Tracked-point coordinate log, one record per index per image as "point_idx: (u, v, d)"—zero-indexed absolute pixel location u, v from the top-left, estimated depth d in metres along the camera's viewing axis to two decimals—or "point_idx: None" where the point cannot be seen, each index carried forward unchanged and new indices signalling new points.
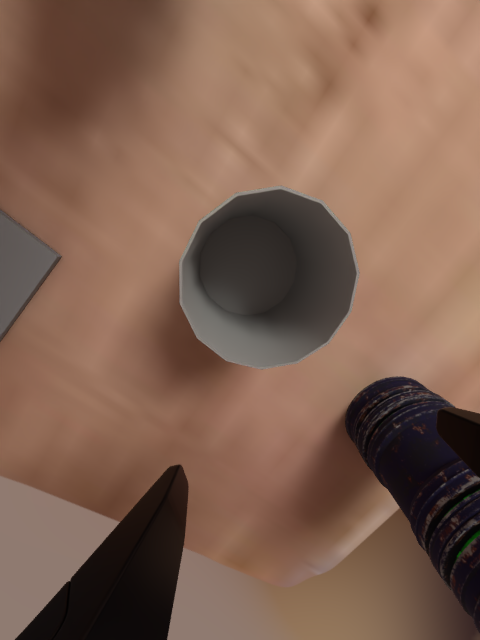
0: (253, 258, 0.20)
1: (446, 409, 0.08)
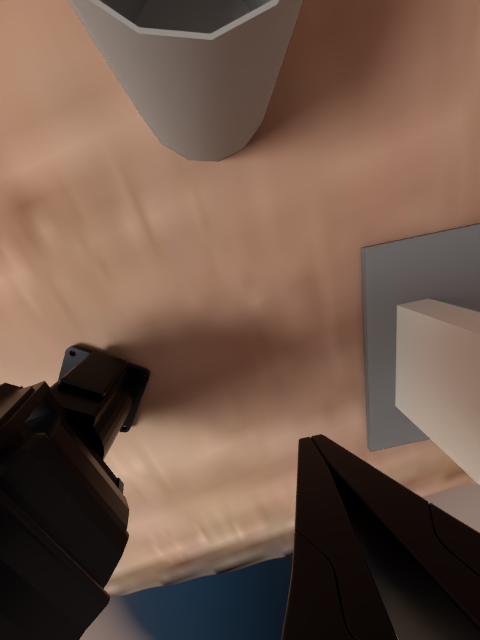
0: None
1: (315, 437, 0.08)
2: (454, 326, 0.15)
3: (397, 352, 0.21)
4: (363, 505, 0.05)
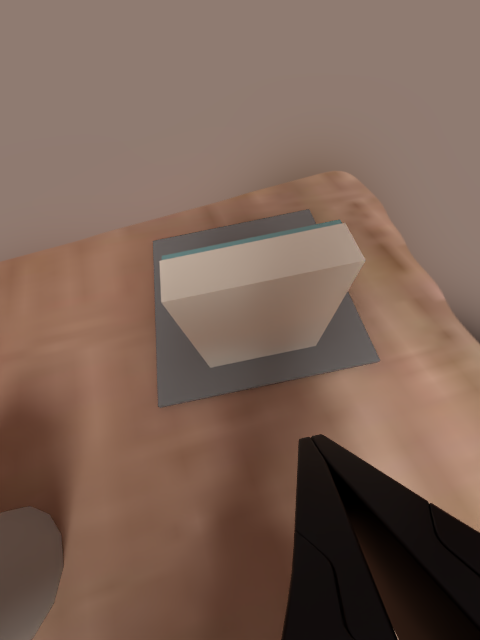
0: None
1: (315, 437, 0.08)
2: (197, 349, 0.18)
3: (255, 357, 0.22)
4: (363, 505, 0.05)
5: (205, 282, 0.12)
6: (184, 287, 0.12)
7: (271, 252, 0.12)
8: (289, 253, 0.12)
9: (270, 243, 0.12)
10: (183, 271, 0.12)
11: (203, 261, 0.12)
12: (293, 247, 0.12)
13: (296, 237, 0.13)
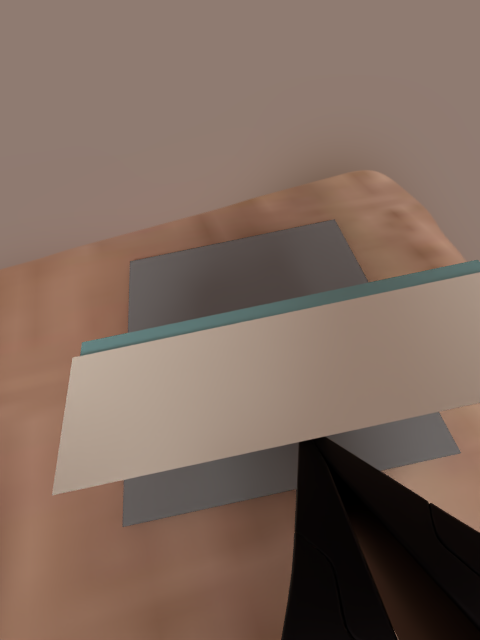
0: None
1: None
2: None
3: None
4: (363, 505, 0.05)
5: (173, 429, 0.05)
6: (119, 445, 0.05)
7: (335, 343, 0.05)
8: (381, 348, 0.05)
9: (329, 318, 0.05)
10: (122, 391, 0.05)
11: (172, 363, 0.05)
12: (388, 331, 0.05)
13: (388, 303, 0.05)
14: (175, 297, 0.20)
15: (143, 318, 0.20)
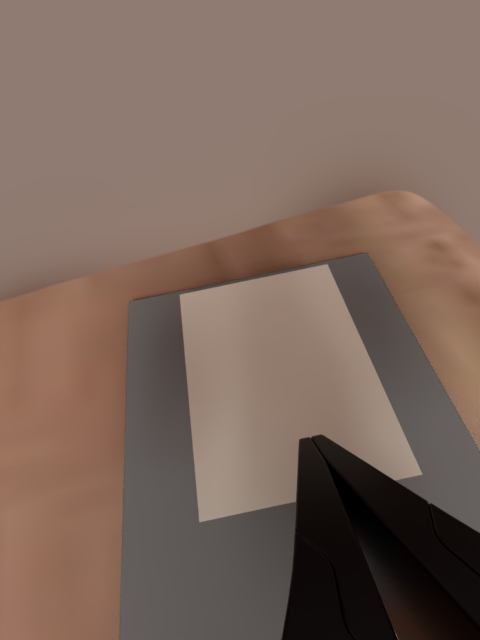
0: None
1: (315, 437, 0.08)
2: (190, 402, 0.13)
3: (293, 497, 0.11)
4: (363, 505, 0.05)
5: None
6: None
7: None
8: None
9: None
10: None
11: None
12: None
13: None
14: (182, 350, 0.17)
15: (144, 377, 0.17)
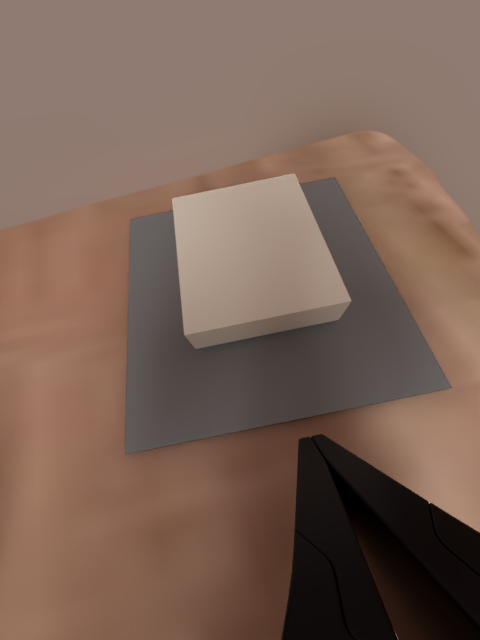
0: None
1: (315, 437, 0.08)
2: (179, 266, 0.16)
3: (254, 318, 0.14)
4: (363, 505, 0.05)
5: None
6: None
7: None
8: None
9: None
10: None
11: None
12: None
13: None
14: (175, 251, 0.21)
15: (143, 271, 0.20)
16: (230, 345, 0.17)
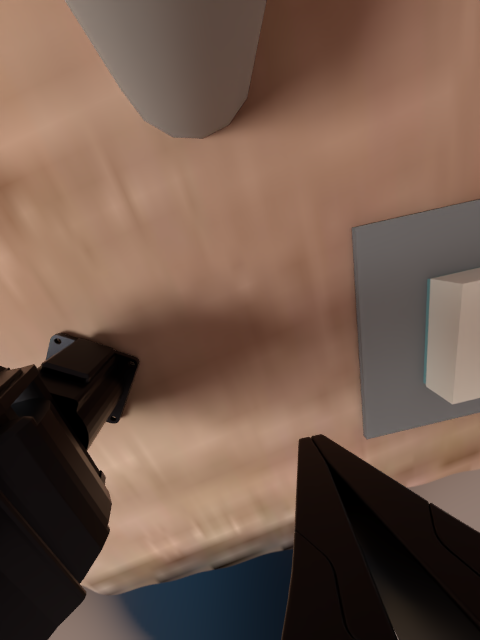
0: None
1: (315, 437, 0.08)
2: None
3: (460, 339, 0.18)
4: (363, 505, 0.05)
5: None
6: None
7: None
8: None
9: None
10: None
11: None
12: None
13: None
14: None
15: None
16: (423, 306, 0.20)
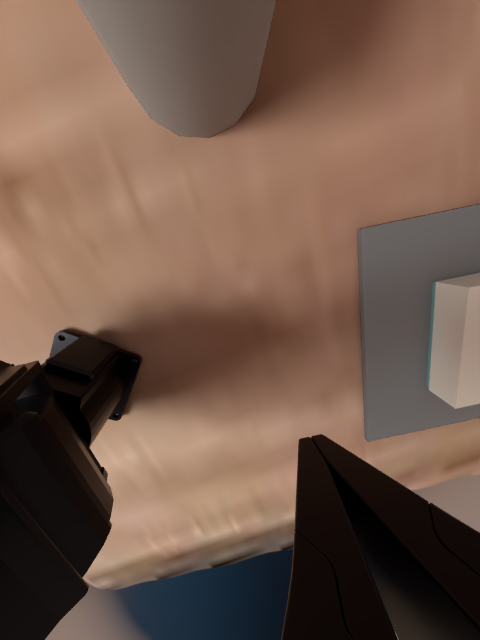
0: None
1: (315, 437, 0.08)
2: None
3: (464, 344, 0.17)
4: (363, 505, 0.05)
5: None
6: None
7: None
8: None
9: None
10: None
11: None
12: None
13: None
14: None
15: None
16: (428, 309, 0.20)
